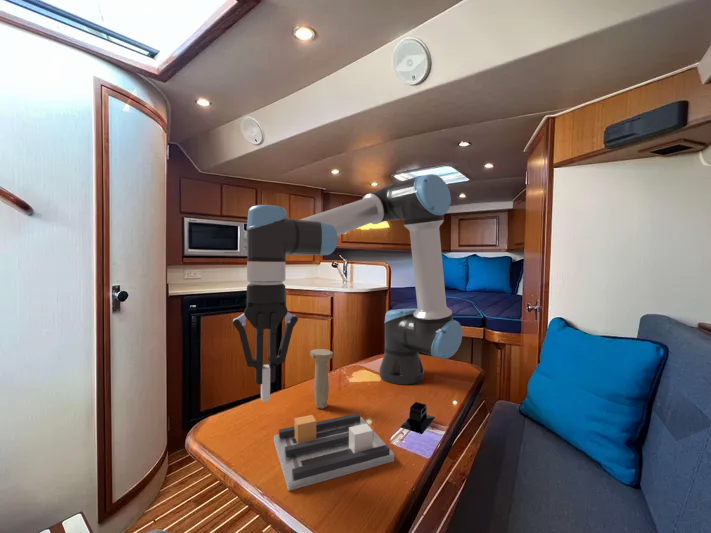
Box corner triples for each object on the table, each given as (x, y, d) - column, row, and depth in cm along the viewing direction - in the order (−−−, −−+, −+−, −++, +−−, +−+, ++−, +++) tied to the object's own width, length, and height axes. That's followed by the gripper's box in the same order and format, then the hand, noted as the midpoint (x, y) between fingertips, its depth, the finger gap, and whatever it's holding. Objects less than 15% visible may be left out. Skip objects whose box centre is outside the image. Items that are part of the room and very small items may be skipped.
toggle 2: (366, 442, 67) (366, 423, 67) (372, 450, 64) (372, 430, 64) (348, 446, 65) (348, 427, 65) (354, 454, 63) (354, 434, 62)
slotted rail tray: (358, 418, 77) (358, 413, 77) (389, 454, 63) (389, 448, 63) (278, 434, 70) (278, 429, 70) (293, 480, 55) (294, 473, 55)
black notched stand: (422, 440, 71) (422, 420, 71) (393, 431, 75) (393, 412, 75) (440, 417, 82) (440, 400, 82) (413, 410, 86) (413, 393, 86)
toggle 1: (312, 432, 70) (312, 414, 70) (316, 439, 68) (316, 421, 68) (294, 436, 69) (294, 418, 69) (297, 443, 66) (297, 424, 66)
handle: (323, 413, 82) (323, 356, 82) (306, 406, 87) (306, 351, 86) (336, 407, 86) (336, 352, 86) (319, 400, 90) (319, 347, 90)
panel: (361, 422, 78) (361, 416, 78) (394, 461, 63) (394, 453, 63) (273, 441, 70) (273, 434, 70) (288, 491, 55) (288, 482, 55)
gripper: (294, 281, 70) (293, 387, 71) (231, 282, 65) (230, 396, 66) (302, 283, 63) (301, 401, 64) (232, 284, 58) (231, 412, 59)
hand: (265, 398), depth 65 cm, fingers closed
